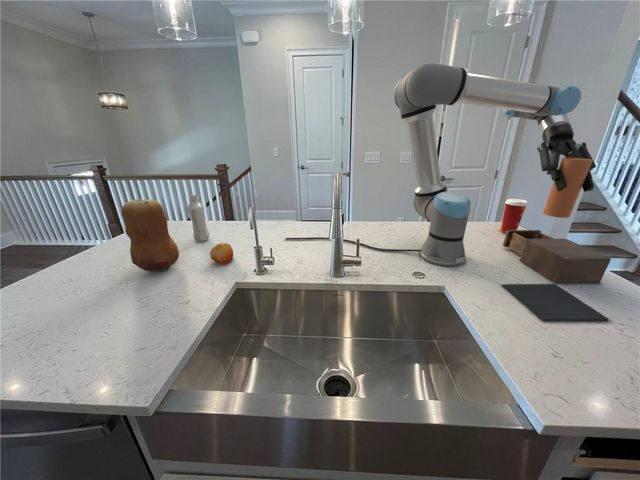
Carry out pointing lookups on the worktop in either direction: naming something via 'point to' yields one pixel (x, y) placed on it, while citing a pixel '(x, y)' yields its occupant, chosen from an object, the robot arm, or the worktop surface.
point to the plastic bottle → (197, 219)
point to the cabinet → (564, 261)
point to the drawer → (521, 238)
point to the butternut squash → (149, 235)
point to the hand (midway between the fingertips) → (575, 188)
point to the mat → (553, 303)
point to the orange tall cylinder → (566, 198)
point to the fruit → (222, 253)
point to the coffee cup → (513, 214)
